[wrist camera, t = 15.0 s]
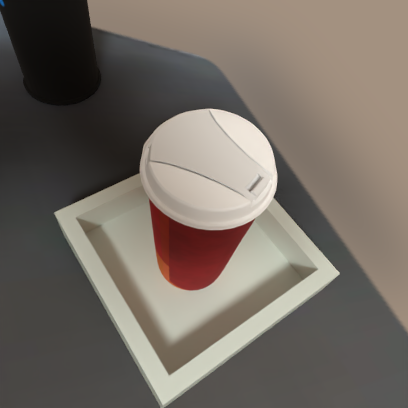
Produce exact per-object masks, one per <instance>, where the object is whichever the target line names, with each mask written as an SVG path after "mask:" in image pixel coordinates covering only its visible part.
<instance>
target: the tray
mask: <svg viewBox="0 0 408 408" xmlns="http://www.w3.org/2000/svg"><path fill="white" fill-rule="evenodd" d="M54 214H55V216H56V218H57V221H58V223H59V225H60V228H61V230H62V232H63V234H64V237H65V238H66V240H67V242H68V244H69V245H70V247H71V249H72V251H73V253H74V254H75V256H76V258H77V260H78V261H79V263H80V265H81V267H82V269H83V270H84V272H85V274H86V276H87V277H88V279H89V281H90V283H91V285H92V286H93V288H94V290H95V292H96V293H97V295H98V297H99V299H100V301H101V302H102V304H103V306H104V308H105V309H106V311H107V313H108V315H109V317H110V318H111V320H112V322H113V324H114V325H115V327H116V329H117V331H118V333H119V334H120V336H121V338H122V340H123V341H124V343H125V345H126V347H127V349H128V350H129V352H130V354H131V356H132V357H133V359H134V361H135V363H136V365H137V366H138V368H139V370H140V372H141V373H142V375H143V377H144V379H145V381H146V382H147V384H148V386H149V388H150V389H151V391H152V393H153V395H154V397H155V398H156V400H157V402H158V404H159V405H160V407H161V408H165V407H166V406H167V405H169V404H170V403H171V402H173V401H174V400H175V399H177V398H178V397H179V396H181V395H182V394H183V393H185V392H186V391H187V390H189V389H190V388H191V387H193V386H194V385H195V384H197V383H198V382H199V381H201V380H202V379H203V378H205V377H206V376H207V375H209V374H210V373H211V372H213V371H214V370H215V369H217V368H218V367H219V366H221V365H222V364H223V363H225V362H226V361H227V360H229V359H230V358H231V357H233V356H234V355H235V354H237V353H238V352H239V351H241V350H242V349H243V348H245V347H246V346H247V345H249V344H250V343H251V342H253V341H254V340H255V339H257V338H258V337H259V336H261V335H262V334H263V333H265V332H266V331H267V330H269V329H270V328H271V327H273V326H274V325H275V324H277V323H278V322H279V321H281V320H282V319H283V318H285V317H286V316H287V315H289V314H290V313H291V312H293V311H294V310H296V309H297V308H298V307H300V306H301V305H302V304H304V303H305V302H306V301H308V300H309V299H310V298H312V297H313V296H314V295H316V294H317V293H318V292H320V291H321V290H322V289H323V288H324V287H325V286H327V285H328V284H329V283H330V282H331V281H332V280H333V279H334V278H336V277H337V276H338V275H339V274H340V273H339V272H338V271H337V270H336V269H335V268H334V266H333V265H332V264H331V263H330V262H329V261H328V260H327V258H326V257H325V256H324V255H323V254H322V253H321V252H320V250H319V249H318V248H317V247H316V246H315V245H314V244H313V242H312V241H311V240H310V239H309V238H308V237H307V236H306V234H305V233H304V232H303V231H302V230H301V229H300V228H299V226H298V225H297V224H296V223H295V222H294V221H293V220H292V218H291V217H290V216H289V215H288V214H287V213H286V212H285V210H284V209H283V208H282V207H281V206H280V205H279V204H278V202H277V201H276V200H275V199H274V198H273V199H272V201H271V202H270V204H269V205H268V207H267V208H266V209H265V210H264V211H263V212H262V213H261V214H260V215H259V216H258V217H256V218H255V220H254V222H253V223H252V225H251V227H250V228H249V230H248V231H247V233H246V234H245V236H244V237H243V239H242V240H241V242H240V243H239V245H238V247H237V248H236V250H235V252H234V253H233V255H232V257H231V258H230V260H229V262H228V263H227V265H226V267H225V268H224V270H223V271H222V273H221V274H220V276H219V277H218V278H217V279H216V280H215V281H214V282H213V283H212V284H211V285H209V286H208V287H206V288H203V289H200V290H193V291H189V290H183V289H180V288H177V287H175V286H173V285H172V284H170V283H169V282H168V281H167V280H166V279H165V278H164V276H163V275H162V273H161V271H160V269H159V266H158V262H157V257H156V250H155V243H154V235H153V228H152V220H151V212H150V204H149V197H148V195H147V194H146V192H145V190H144V187H143V185H142V182H141V176H140V173H139V174H137V175H135V176H132V177H130V178H128V179H126V180H124V181H122V182H119V183H117V184H115V185H113V186H111V187H109V188H106V189H104V190H102V191H100V192H98V193H96V194H93V195H91V196H89V197H87V198H85V199H83V200H80V201H78V202H76V203H74V204H72V205H70V206H67V207H65V208H63V209H61V210H59V211H57V212H55V213H54Z"/></svg>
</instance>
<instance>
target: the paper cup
mask: <svg viewBox="0 0 408 408" xmlns="http://www.w3.org/2000/svg"><path fill="white" fill-rule="evenodd" d="M140 176H141V182H142V185H143V187H144V190H145V192H146V194H147V195H148V197H149V204H150V212H151V220H152V228H153V235H154V243H155V250H156V257H157V262H158V266H159V269H160V271H161V273H162V275H163V276H164V278H165V279H166V280H167V281H168V282H169V283H170V284H172V285H173V286H175V287H177V288H180V289H183V290H189V291H193V290H200V289H203V288H206V287H208V286H209V285H211V284H212V283H213V282H214V281H215V280H216V279H217V278H218V277H219V276H220V274H221V273H222V271H223V270H224V268H225V267H226V265H227V263H228V262H229V260H230V258H231V257H232V255H233V253H234V252H235V250H236V248H237V247H238V245H239V243H240V242H241V240H242V239H243V237H244V236H245V234H246V233H247V231H248V230H249V228H250V227H251V225H252V223H253V222H254V220H255V218H256V217H258V216H259V215H260V214H261V213H262V212H263V211H264V210H265V209H266V208H267V207H268V205H269V204H270V202H271V201H272V199H273V196H274V194H275V191H276V186H277V171H276V166H275V160H274V155H273V151H272V149H271V146H270V144H269V142H268V141H267V139H266V137H265V136H264V135H263V134H262V133H261V131H260V130H259V129H258V128H256V127H255V126H254V125H253V124H252V123H250V122H249V121H247V120H246V119H244V118H242V117H240V116H238V115H235V114H233V113H230V112H226V111H223V110H217V109H201V110H194V111H188V112H184V113H181V114H178V115H177V116H175V117H173V118H171V119H169V120H167V121H165V122H164V123H162V124H161V125H160V126H159V127H158V128H157V129H156V130H155V131H154V132H153V134H152V135H151V136H150V137H149V138H148V140H147V141H146V142H145V144H144V146H143V152H142V157H141V161H140Z"/></svg>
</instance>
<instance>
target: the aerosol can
mask: <svg viewBox="0 0 408 408" xmlns="http://www.w3.org/2000/svg"><path fill="white" fill-rule="evenodd" d="M0 11H1V14H2V17H3V20H4V22H5V25H6V28H7V31H8V34H9V36H10V39H11V42H12V45H13V48H14V50H15V53H16V56H17V59H18V62H19V64H20V67H21V70H22V73H23V76H24V79H23V82H24V86H25V88H26V90H27V92H28V93H29V94H30V95H31V96H32V97H34V98H35V99H37V100H39V101H41V102H44V103H48V104H54V105H68V104H74V103H77V102H80V101H82V100H84V99H86V98H88V97H90V96H91V95H92V94H93V93H94V92H95V91H96V90H97V89H98V87H99V85H100V81H101V74H100V71H99V69H98V67H97V64H96V57H95V50H94V44H93V37H92V30H91V24H90V17H89V11H88V4H87V0H0Z"/></svg>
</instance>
